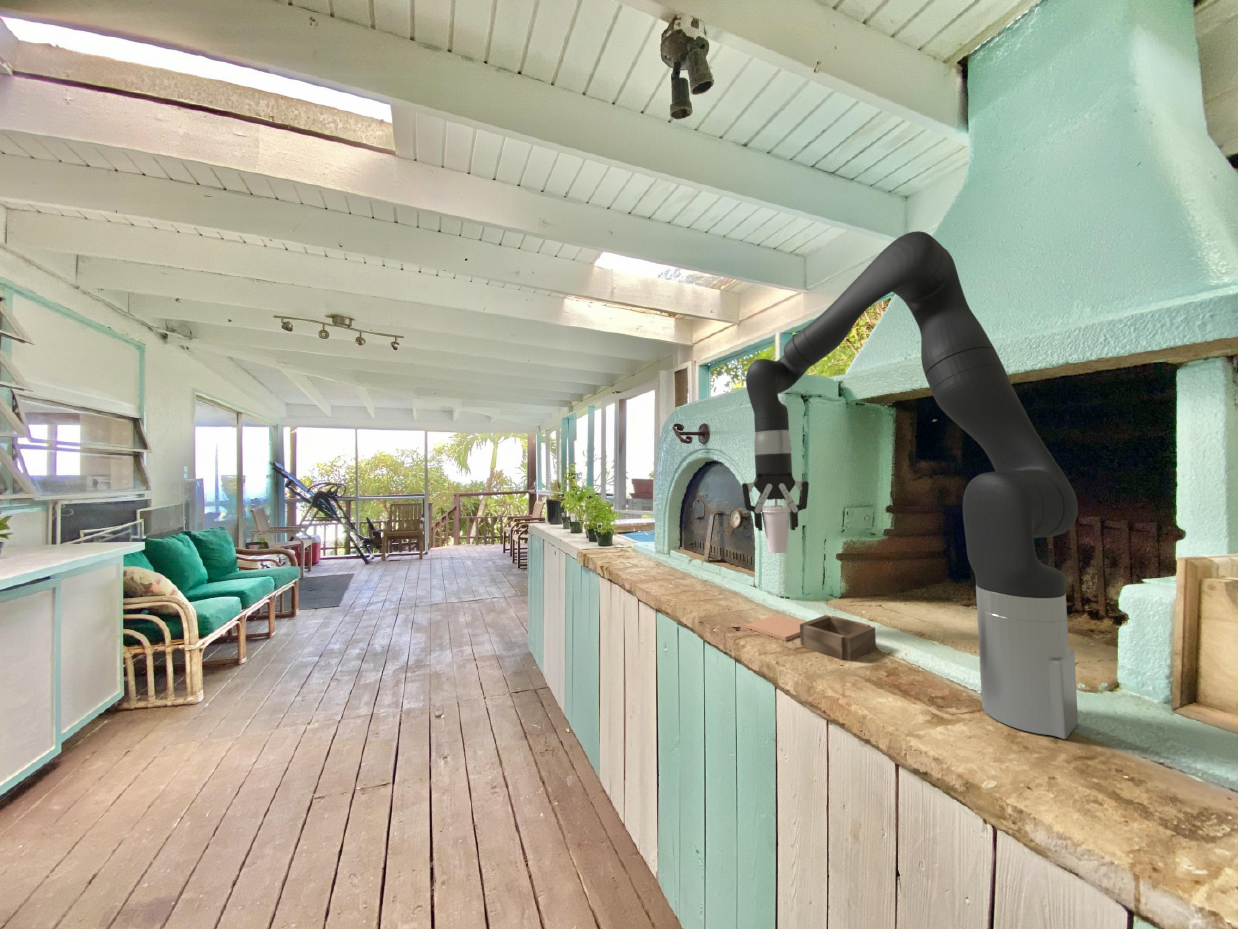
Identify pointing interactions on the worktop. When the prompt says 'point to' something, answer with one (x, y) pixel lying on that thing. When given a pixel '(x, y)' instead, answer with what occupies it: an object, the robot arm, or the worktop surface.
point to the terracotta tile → (777, 627)
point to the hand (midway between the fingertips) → (776, 529)
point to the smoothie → (776, 526)
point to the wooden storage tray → (838, 637)
